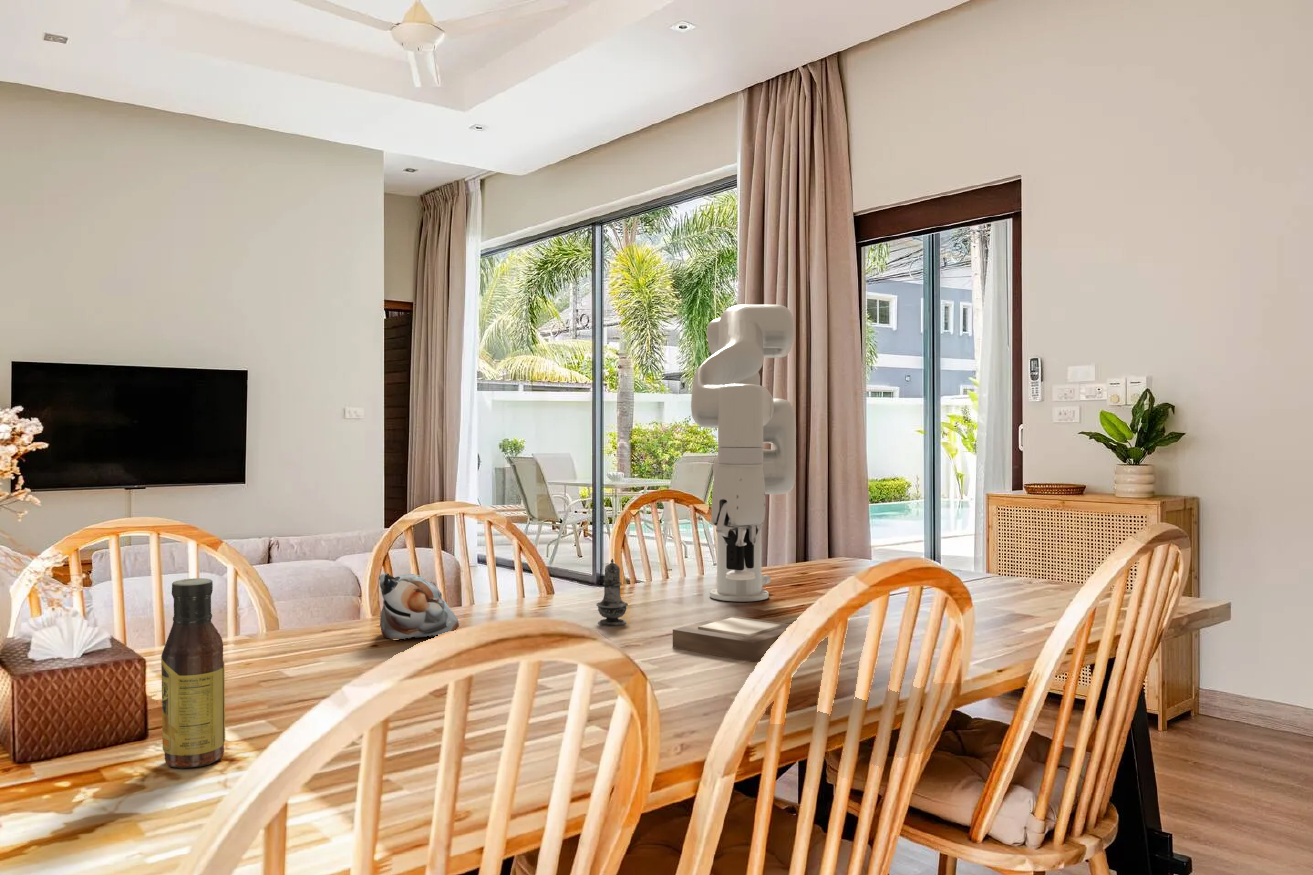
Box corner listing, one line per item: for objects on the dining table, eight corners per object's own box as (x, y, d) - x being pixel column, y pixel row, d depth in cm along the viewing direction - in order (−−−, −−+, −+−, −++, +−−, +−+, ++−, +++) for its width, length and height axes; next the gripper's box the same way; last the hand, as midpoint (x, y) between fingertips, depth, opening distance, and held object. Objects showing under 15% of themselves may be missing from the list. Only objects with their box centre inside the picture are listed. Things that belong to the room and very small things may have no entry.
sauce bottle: (176, 752, 112) (175, 575, 111) (233, 750, 112) (233, 575, 112) (151, 772, 105) (150, 585, 105) (212, 771, 106) (212, 584, 105)
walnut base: (727, 631, 177) (727, 612, 177) (805, 644, 167) (805, 624, 167) (672, 647, 165) (672, 626, 165) (754, 661, 155) (754, 640, 155)
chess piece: (758, 575, 167) (757, 516, 167) (751, 580, 163) (750, 519, 163) (730, 574, 169) (729, 516, 169) (722, 579, 164) (721, 519, 164)
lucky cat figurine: (474, 631, 176) (470, 569, 169) (426, 670, 168) (419, 606, 161) (413, 600, 183) (406, 538, 176) (363, 636, 174) (354, 573, 167)
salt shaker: (629, 620, 187) (629, 556, 187) (625, 626, 182) (625, 561, 181) (598, 619, 188) (599, 556, 188) (593, 626, 182) (594, 560, 182)
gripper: (747, 456, 174) (747, 561, 174) (694, 458, 162) (693, 571, 162) (784, 457, 170) (784, 565, 170) (732, 459, 157) (732, 576, 157)
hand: (740, 567), depth 166 cm, fingers closed on chess piece
